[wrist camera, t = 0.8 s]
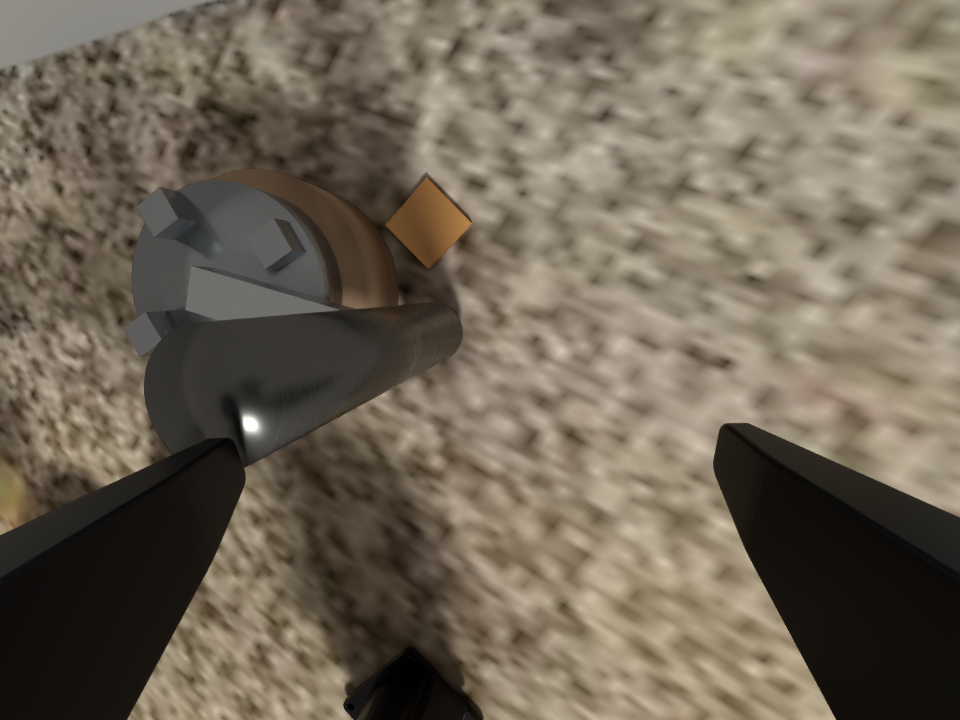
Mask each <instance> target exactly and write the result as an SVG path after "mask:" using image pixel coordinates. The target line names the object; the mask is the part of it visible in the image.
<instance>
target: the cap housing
mask: <svg viewBox="0 0 960 720" xmlns="http://www.w3.org/2000/svg"><path fill="white" fill-rule="evenodd" d="M211 180H225V181H230V182H236V183H240V184H243V185H246V186H249V187H252V188H255V189H258V190H261V191H264V192H268V193H271V194H273V195H276V196H279V197H282V198H284V199H286V200H288V201H289V202H291V203H293V204H294V205H296V206H297V207H299V208H300V209H301V210H303V211H304V212H305V213H306V214H307V215H308V216H309V217H310V218H311V219H312V220H313V221H314V222H315V223H316V225H317V226H318V227H319V228H320V229H321V231H322V232H323V234H324V236H325V237H326V239H327V240H328V242H329V244H330V246H331V248H332V250H333V253H334V255H335V258H336V261H337V264H338V268H339V272H340V277H341V285H342V305H344V306H347V307H351V308H354V309H362V308H374V307H386V306H398V292H399V291H398V279H397V274H396V269H395V264H394V261H393V258H392V255H391V252H390V250H389V248H388V246H387V244H386V242H385V240H384V238H383V236H382V235H381V233H380V232H379V230H378V229H377V227H376V226H375V225H374V223H373V222H372V221H371V220H370V219H369V218H368V216H366V215H365V214H364V213H363V212H362V211H361V210H360V209H359V208H358V207H356V206H355V205H353V204H352V203H350V202H349V201H347V200H346V199H344V198H342V197H340V196H338V195H336V194H333V193H331V192H328V191H326V190H323V189H321V188H318V187H316V186H314V185H311V184H309V183H306V182H304V181H301V180H299V179H296V178H294V177H291V176H288V175H285V174H282V173H279V172H276V171H270V170H265V169H244V170H237V171H232V172H229V173H226V174H222V175H220V176H218V177H216V178H214V179H211ZM209 181H210V180H209ZM471 224H472V223H471V222H470V221H469V220H468V219H467V218H466V217H465V216H464V215H463V214H462V213H461V212H460V211H459V210H458V209H457V208H456V206H455V205H454V204H453V203H452V202H451V201H450V200H449V199H448V198H447V197H446V196H445V195H444V194H443V193H442V192H441V191H440V190H439V189H438V188H437V187H436V186H435V185H434V184H433V183H432V182H431V181H430V180H429V179H428V178H427V177H426V178H425V180H424V181H423V182H422V183H421V184H420V185H419V187H418V188H417V189H416V190H415V191H414V192H413V194H412V195H411V196H410V197H409V198H408V199H407V201H406V202H405V203H404V204H403V205H402V206H401V208H400V209H399V210H398V211H397V212H396V213H395V215H394V216H393V217H392V218H391V219H390V220H389V222H388V223H387V224H386V226H387V227H388V228H389V229H390V230H391V231H392V233H393V234H394V235H395V236H396V237H397V238H398V239H399V240H400V241H401V242H402V243H403V244H404V245H405V246H406V247H407V248H408V249H409V250H410V251H411V252H412V253H413V254H414V255H415V256H416V257H417V258H418V259H419V260H420V261H421V262H422V263H423V265H424V266H425V267H426V268H427V269H431V268H432V267H433V265H434V264H435V263H436V262H437V261H438V260H439V259H440V258H441V257H442V256H443V255H444V253H445V252H446V251H447V250H448V249H449V248H450V247H451V246H452V245H453V244H454V243H455V241H456V240H457V239H458V238H459V237H460V236H461V235H462V234H463V233H464V232H465V231H466V230H467V228H468V227H469V226H470V225H471Z"/></svg>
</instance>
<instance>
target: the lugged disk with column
mask: <svg viewBox="0 0 960 720" xmlns="http://www.w3.org/2000/svg"><path fill="white" fill-rule="evenodd" d="M136 207H137V209H138V211H139V212H140V214H141V216H142V218H143V219H144V221H145V225H144V227H143V229H142V231H141V233H140V236H139V238H138V241H137V245H136V248H135V251H134V257H133V263H132V292H133V298H134V304H135V308H136V312H137V316H138V318H136V319H135V320H134V321H132V322H131V323H129V324H128V325H127V326H125V327H124V328H123V329H124V331H125V333H126V334H127V336H128V338H129V339H130V341H131V343H132V344H133V346H134V348H135V350H136V351H137V353H138V355H139V356H140V357H143V356H150V355H151V356H150V358H149V361H148V364H147V367H146V372H145V378H144V396H145V402H146V407H147V411H148V414H149V417H150V419H151V422H152V424H153V426H154V428H155V430H156V432H157V434H158V435H159V437H160V438H161V440H162V441H163V442H164V443H165V445H166V446H167V447H168V448H169V449H170V450H171V451H172V452H173V453H174V454H176V453H178V452H180V451H182V450H184V449H186V448H189V447H191V446H193V445H195V444H197V443H199V442H201V441H204V440H206V439H209V438H230V439H232V440H233V441H234V442H235V443H236V446H237V449H238V452H239V455H240V458H241V461H242V464H243V467H244V468H245V467H247V466H249V465H251V464H253V463H254V462H256V461H258V460H260V459H262V458H264V457H266V456H267V455H269V454H271V453H273V452H275V451H277V450H279V449H280V448H282V447H284V446H286V445H288V444H290V443H292V442H293V441H295V440H297V439H299V438H301V437H303V436H305V435H306V434H308V433H310V432H312V431H314V430H316V429H317V428H319V427H321V426H323V425H325V424H327V423H329V422H330V421H332V420H334V419H336V418H338V417H340V416H342V415H343V414H345V413H347V412H349V411H351V410H353V409H355V408H356V407H358V406H360V405H362V404H364V403H366V402H368V401H369V400H371V399H373V398H375V397H377V396H379V395H381V394H382V393H384V392H386V391H388V390H390V389H392V388H394V387H395V386H397V385H399V384H401V383H403V382H405V381H407V380H408V379H410V378H412V377H414V376H416V375H418V374H420V373H421V372H423V371H425V370H427V369H429V368H431V367H433V366H434V365H436V364H438V363H440V362H442V361H444V360H446V359H447V358H449V357H451V356H452V355H453V354H454V353H455V352H456V351H457V349H458V348H459V346H460V344H461V341H462V334H463V332H462V325H461V322H460V320H459V318H458V316H457V315H456V313H455V312H454V311H453V310H452V309H450V308H449V307H448V306H446V305H443V304H440V303H422V304H410V305H398V306H386V307H374V308H362V309H354V308H351V307H347V306H344V305H342V285H341V277H340V272H339V268H338V264H337V261H336V258H335V255H334V253H333V250H332V248H331V246H330V244H329V242H328V240H327V239H326V237H325V236H324V234H323V232H322V231H321V229H320V228H319V227H318V226H317V225H316V223H315V222H314V221H313V220H312V219H311V218H310V217H309V216H308V215H307V214H306V213H305V212H304V211H303V210H301V209H300V208H299V207H297V206H296V205H294V204H293V203H291V202H289V201H288V200H286V199H284V198H282V197H279V196H276V195H273V194H271V193H268V192H264V191H261V190H258V189H255V188H252V187H249V186H246V185H243V184H240V183H236V182H230V181H225V180H210V181H202V182H197V183H194V184H191V185H188V186H186V187H183V188H181V189H179V190H177V191H173V190H169V189H165V188H161V187H160V188H158V189H157V190H156V191H155V192H153V193H152V194H151V195H150V196H149V197H147V198H146V199H145V200H144V201H143V202H141V203H140V204H139V205H138V206H136Z"/></svg>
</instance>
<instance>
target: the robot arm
mask: <svg viewBox="0 0 960 720" xmlns="http://www.w3.org/2000/svg"><path fill="white" fill-rule="evenodd" d="M713 468H714V473H715V476H716V479H717V481H718V484H719V486H720V489H721V491H722V494H723V496H724V499H725V501H726V504H727V506H728V509H729V511H730V513H731V516H732V518H733V521H734V523H735V526H736V528H737V531H738V533H739V536H740V538H741V541H742V543H743V545H744V547H745V550H746V552H747V554H748V556H749V558H750V560H751V562H752V564H753V565H754V567H755V569H756V571H757V573H758V575H759V577H760V579H761V580H762V582H763V584H764V586H765V588H766V590H767V592H768V593H769V595H770V597H771V599H772V601H773V603H774V605H775V607H776V608H777V610H778V612H779V614H780V616H781V618H782V620H783V621H784V623H785V625H786V627H787V629H788V631H789V633H790V635H791V636H792V638H793V640H794V642H795V644H796V646H797V648H798V649H799V651H800V653H801V655H802V657H803V659H804V661H805V663H806V664H807V666H808V668H809V670H810V672H811V674H812V676H813V677H814V679H815V681H816V683H817V685H818V687H819V689H820V691H821V692H822V694H823V696H824V698H825V700H826V702H827V704H828V705H829V707H830V709H831V711H832V713H833V715H834V717H835V719H836V720H960V517H957V516H955V515H953V514H951V513H948V512H946V511H944V510H942V509H939V508H937V507H935V506H933V505H930V504H928V503H926V502H924V501H922V500H919V499H917V498H915V497H913V496H910V495H908V494H906V493H904V492H901V491H899V490H897V489H895V488H892V487H890V486H888V485H886V484H883V483H881V482H879V481H877V480H874V479H872V478H870V477H868V476H865V475H863V474H861V473H859V472H856V471H854V470H852V469H850V468H847V467H845V466H843V465H841V464H839V463H836V462H834V461H832V460H830V459H827V458H825V457H823V456H821V455H818V454H816V453H814V452H812V451H809V450H807V449H805V448H803V447H800V446H798V445H796V444H794V443H791V442H789V441H787V440H785V439H782V438H780V437H778V436H776V435H773V434H771V433H769V432H767V431H765V430H762V429H760V428H758V427H756V426H753V425H751V424H749V423H726V424H724V425H722V426H721V428H720V430H719V434H718V439H717V445H716V450H715V455H714V461H713ZM245 479H246V476H245V470H244V467H243V464H242V461H241V458H240V455H239V452H238V449H237V446H236V443H235V442H234V441H233V440H232V439H230V438H209V439H206V440H204V441H201V442H199V443H197V444H195V445H193V446H191V447H189V448H186V449H184V450H182V451H180V452H178V453H176V454H174V455H171V456H169V457H167V458H165V459H163V460H161V461H158V462H156V463H154V464H152V465H150V466H148V467H146V468H143V469H141V470H139V471H137V472H135V473H133V474H131V475H128V476H126V477H124V478H122V479H120V480H118V481H116V482H113V483H111V484H109V485H107V486H105V487H103V488H101V489H98V490H96V491H94V492H92V493H90V494H88V495H86V496H83V497H81V498H79V499H77V500H75V501H73V502H71V503H68V504H66V505H64V506H62V507H60V508H58V509H55V510H53V511H51V512H49V513H47V514H45V515H43V516H40V517H38V518H36V519H34V520H32V521H30V522H28V523H25V524H23V525H21V526H19V527H17V528H15V529H13V530H10V531H8V532H6V533H4V534H2V535H0V720H127V719H128V717H129V715H130V713H131V711H132V710H133V708H134V706H135V704H136V702H137V700H138V699H139V697H140V695H141V693H142V691H143V689H144V687H145V686H146V684H147V682H148V680H149V678H150V676H151V674H152V673H153V671H154V669H155V667H156V665H157V663H158V661H159V660H160V658H161V656H162V654H163V652H164V650H165V648H166V647H167V645H168V643H169V641H170V639H171V637H172V636H173V634H174V632H175V630H176V628H177V626H178V624H179V623H180V621H181V619H182V617H183V615H184V613H185V611H186V610H187V608H188V606H189V604H190V602H191V600H192V598H193V597H194V595H195V593H196V591H197V589H198V587H199V586H200V584H201V582H202V580H203V578H204V576H205V574H206V573H207V571H208V569H209V567H210V565H211V563H212V561H213V559H214V557H215V554H216V552H217V550H218V548H219V545H220V543H221V541H222V538H223V536H224V534H225V531H226V529H227V526H228V524H229V522H230V519H231V517H232V514H233V512H234V510H235V507H236V505H237V502H238V500H239V498H240V495H241V493H242V490H243V488H244V485H245ZM408 656H411V657H412V658H413V659H411V658H409V657H408ZM351 703H352V704H351ZM343 706H344V709H345V711H346V712H347V713H348V714H349V715H350V716H351V717H352V718H353V719H354V720H482V719H481V718H480V717H479V716H478V715H477V714H476V713H475V712H474V711H473V710H472V709H471V707H470V706H469V705H468V704H467V703H466V702H465V701H464V700H463V699H462V698H461V697H460V696H459V695H458V694H457V692H456V691H455V690H454V689H453V688H452V687H451V686H450V685H449V684H448V683H447V682H446V681H445V680H444V679H443V677H442V676H441V675H440V674H439V673H438V672H437V671H436V670H435V669H434V668H433V667H432V666H431V665H430V664H429V662H428V661H427V660H426V659H425V658H424V657H423V656H422V655H421V654H420V653H419V652H418V651H417V650H416V649H415V648H412V647H408V648H406V649H405V650H404V651H402V652H401V653H400V654H399V655H398V656H396V657H395V658H394V659H393V660H391V661H390V662H389V663H388V664H386V665H385V666H384V667H383V668H381V669H380V670H379V671H378V672H377V673H375V674H374V675H373V676H372V677H370V678H369V679H368V680H367V681H365V682H364V683H363V684H362V685H360V686H359V687H358V688H357V689H355V690H354V691H353V692H352V693H351V694H349V695H348V696H347V698H346V700H345V701H344V704H343Z"/></svg>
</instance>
